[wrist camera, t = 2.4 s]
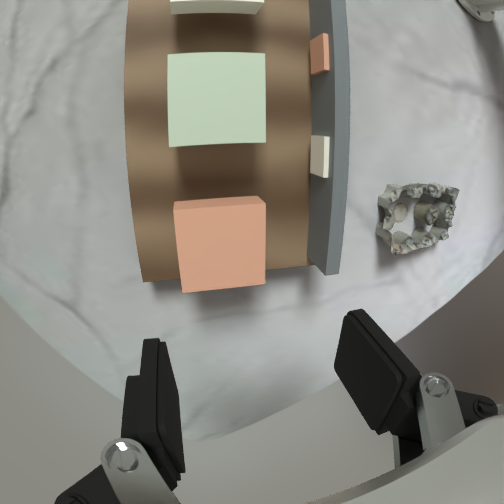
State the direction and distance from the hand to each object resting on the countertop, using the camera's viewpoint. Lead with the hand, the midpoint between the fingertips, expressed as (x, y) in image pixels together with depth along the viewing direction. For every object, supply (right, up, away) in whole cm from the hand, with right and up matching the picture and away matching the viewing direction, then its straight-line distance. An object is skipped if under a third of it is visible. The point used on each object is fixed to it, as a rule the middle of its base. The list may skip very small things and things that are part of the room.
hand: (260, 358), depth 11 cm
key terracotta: (-3, +5, +12) cm, 13 cm away
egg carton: (+18, +9, +21) cm, 29 cm away
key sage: (-3, +14, +8) cm, 16 cm away
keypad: (-2, +16, +12) cm, 20 cm away
